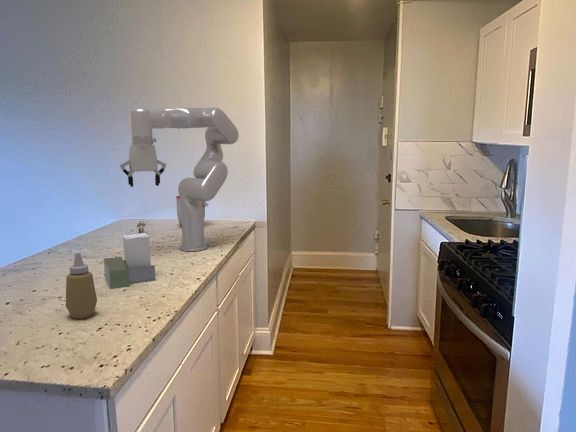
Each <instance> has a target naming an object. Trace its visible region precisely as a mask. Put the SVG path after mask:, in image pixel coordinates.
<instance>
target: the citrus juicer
mask: <svg viewBox="0 0 576 432" xmlns="http://www.w3.org/2000/svg"><path fill="white" fill-rule="evenodd" d="M175 198H176V213H177V214H176V215H177V220H178V221H177V222H178V224H179V226H180V228H182V216H181V201H180V196H179V195H177V196H175ZM201 203H202V206H203V219H204V220H205V217H206V216H205V215H206V207H209V202H207V201H201Z"/></svg>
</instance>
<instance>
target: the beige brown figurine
mask: <svg viewBox="0 0 576 432" xmlns="http://www.w3.org/2000/svg"><path fill="white" fill-rule="evenodd" d="M146 225H147V223H144V222H142V221H141V220H140V221H139V222H138V223H137V224H136V227H135V228H136V229H138V234H139V233H145V227H146Z"/></svg>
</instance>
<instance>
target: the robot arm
mask: <svg viewBox="0 0 576 432" xmlns="http://www.w3.org/2000/svg"><path fill="white" fill-rule="evenodd" d="M130 125H131V127H130V128H131V144H130V145H129V152H128V153H129V154H128V160H126V161H124V162H123V163H121V164H119V167H120V169H121V171H122V172H123V173H124V174H125V175H126V176H127V180H128V181H127V182H128V183H127V184H128V185H129V186H130V187H131V188H134V176H133V174H134V173H135V172H153V173H155V175H154V181H155V183H154V184H155V186H157V187H158V186H159V185H160V184H161V175H162V174H163V173H164V171H165V170H166V168H167V163H165V162H162V161H160V160H158V158H157V157H158V156H157V150H156V146H155V145H154V143H157V138H154V137H153V129H156V130H158V129H178V130H179V129H199V128H201V129H202V128H203V129H204V128H206V130H205V134H204V139H205V145H206V148H205V149H206V150H205V152H203V154H202V156H201V157H200V159H199V160H198V162H197V163H196V164H195V167H193V173H192V174H193V176H194V177H185V178H183V179H181V180H180V182H179V184H178V189H177V190H178V196H180V201H181V216H182V227H181V236H182V237H181V239H182V241H181V242H182V243H181V244H180V245H179V246H178V250H180V251H183V252H199V251H204V250H206V249H208V244H213V243H216V242H215V238H209V237H205V230H204V229H205V226H204V225H205V223H204V221H205V218H204V219H203V206H202V203H201V201H205V202H209V201H211V200H213V199H214V198H215V196H216V195H217V194H218V192H219V191H220V189H221V188H222V186H223V185H224V183H225V181H226V180H227V178H228V173H229V171H228V170H229V169H228V166H227V164H226V163H225V162H223V160H224V153H223V149H222V145H233V144H236V143H237V142H238V140H239V131H238V129H237V127H236V125H235V124H234V123H233V121H232V120H231V119H230V117H228V115H227V114H226V113H225V112H224V111H223V110H222V109H221V108H219V107H176V108H166V109H165V108H164V109H163V108H149V109H148V108H143V107H142V108H140V107H139V108H132V109H131V111H130ZM158 165H159V166H161V168H160V169H159V170H158ZM126 166H129V171H128V170H127V169H126Z"/></svg>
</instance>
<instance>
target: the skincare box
mask: <svg viewBox="0 0 576 432" xmlns="http://www.w3.org/2000/svg"><path fill="white" fill-rule="evenodd" d="M122 242H123V251H124V252H123V254H124V260H125V264H126V266H127V267H128V268H134V267H142V266H150V265H152V262H151V248H150V236H149V234H147V232H144V233H139V232H138V233H133V234H124V235H122Z"/></svg>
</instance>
